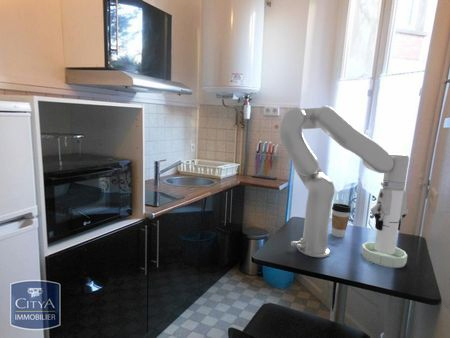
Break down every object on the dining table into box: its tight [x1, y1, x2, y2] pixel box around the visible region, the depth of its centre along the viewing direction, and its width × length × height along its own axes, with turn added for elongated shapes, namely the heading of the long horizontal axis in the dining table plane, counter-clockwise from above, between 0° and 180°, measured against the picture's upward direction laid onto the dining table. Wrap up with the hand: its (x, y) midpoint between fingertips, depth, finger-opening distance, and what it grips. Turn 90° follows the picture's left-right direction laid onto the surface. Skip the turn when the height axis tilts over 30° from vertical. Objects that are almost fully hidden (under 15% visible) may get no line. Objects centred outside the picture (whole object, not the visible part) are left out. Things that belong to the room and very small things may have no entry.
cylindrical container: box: [374, 190, 404, 254], centre depth 118 cm, size 7×7×25 cm
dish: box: [361, 241, 408, 269], centre depth 120 cm, size 16×16×4 cm
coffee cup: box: [331, 203, 351, 238], centre depth 144 cm, size 8×8×15 cm
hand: (387, 229), depth 119 cm, fingers closed on cylindrical container, 7 cm apart
